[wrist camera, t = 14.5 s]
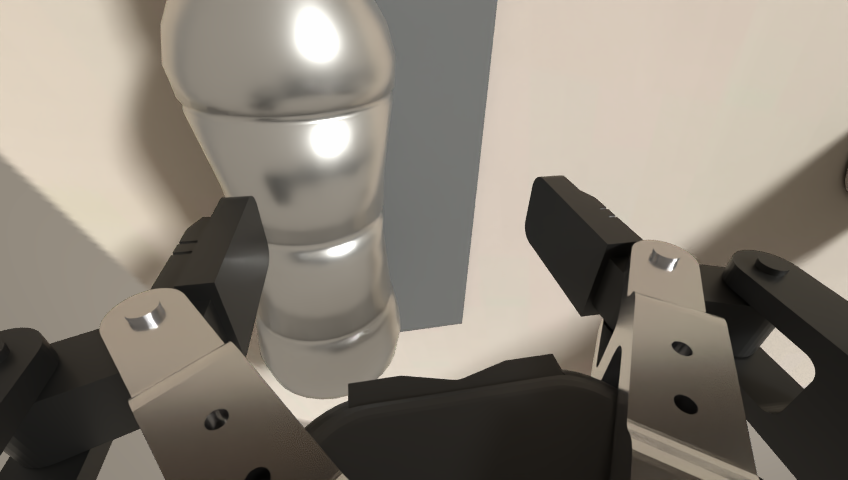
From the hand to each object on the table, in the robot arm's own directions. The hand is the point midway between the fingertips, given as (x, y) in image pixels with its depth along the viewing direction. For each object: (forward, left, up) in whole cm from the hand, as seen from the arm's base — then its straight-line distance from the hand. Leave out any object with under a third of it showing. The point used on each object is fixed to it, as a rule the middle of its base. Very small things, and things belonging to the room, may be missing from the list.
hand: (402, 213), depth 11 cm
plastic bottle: (+3, +11, -4) cm, 12 cm away
